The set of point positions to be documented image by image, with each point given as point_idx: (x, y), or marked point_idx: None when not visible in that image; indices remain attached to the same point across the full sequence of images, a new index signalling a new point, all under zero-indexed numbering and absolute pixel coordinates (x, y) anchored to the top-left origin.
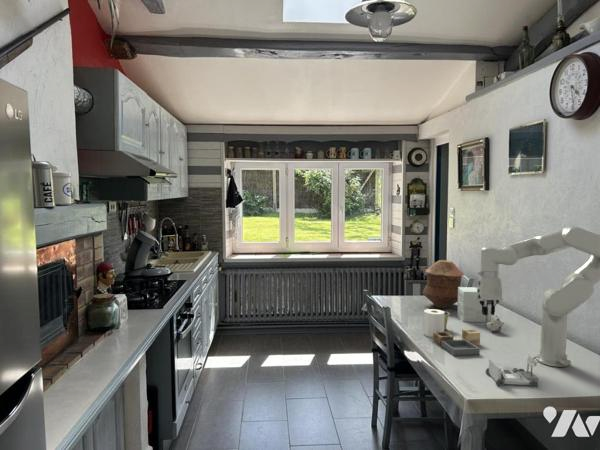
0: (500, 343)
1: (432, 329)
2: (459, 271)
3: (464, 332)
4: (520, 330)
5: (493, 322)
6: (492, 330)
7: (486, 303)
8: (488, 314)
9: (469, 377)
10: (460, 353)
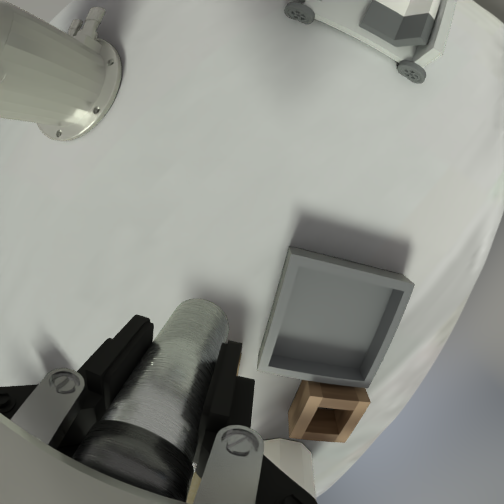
0: (101, 312)
1: (305, 465)
2: None
3: None
4: (4, 354)
5: None
6: None
7: (211, 465)
8: (203, 343)
9: (477, 99)
10: (381, 271)
